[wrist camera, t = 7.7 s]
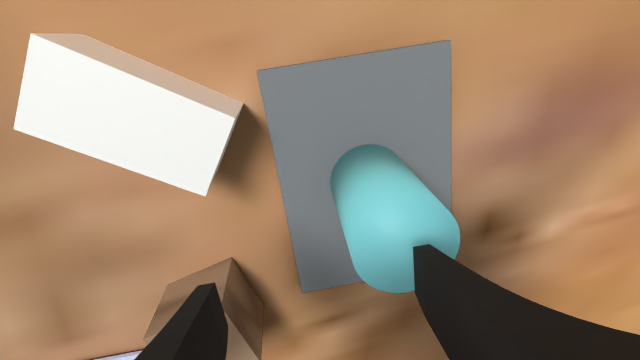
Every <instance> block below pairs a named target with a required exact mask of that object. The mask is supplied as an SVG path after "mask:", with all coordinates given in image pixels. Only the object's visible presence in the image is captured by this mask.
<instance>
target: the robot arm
mask: <svg viewBox="0 0 640 360" xmlns="http://www.w3.org/2000/svg"><path fill="white" fill-rule="evenodd" d="M413 261H414V286H415V294H416V296H417V299H418V301H419V304H420V306H421V308H422V311H423V313H424V315H425V317H426V319H427V321H428V323H429V325H430V326H431V328H432V330H433V332H434V333H435V335H436V337H437V339H438V340H439V342H440V344H441V346H442V347H443V349H444V351H445V352H446V354H447V356H448V358H449V359H450V360H640V335H637V334H633V333H629V332H625V331H620V330H616V329H612V328H609V327H605V326H602V325H598V324H595V323H592V322H588V321H585V320H582V319H579V318H576V317H573V316H570V315H567V314H564V313H561V312H558V311H556V310H553V309H550V308H548V307H545V306H542V305H540V304H537V303H535V302H533V301H530V300H528V299H526V298H524V297H521V296H519V295H517V294H515V293H512V292H510V291H508V290H506V289H504V288H502V287H500V286H498V285H497V284H495V283H493V282H491V281H489V280H487V279H485V278H484V277H482V276H480V275H478V274H477V273H475V272H473V271H471V270H470V269H468V268H467V267H465V266H463V265H462V264H460V263H458V262H457V261H455V260H454V259H452V258H451V257H449V256H447V255H446V254H444V253H443V252H441V251H440V250H438V249H437V248H435V247H433V246H432V245H430V244H426V245H421V246H415V247H413ZM227 342H228V323H227V320H226V317H225V313H224V310H223V307H222V304H221V300H220V297H219V294H218V290H217V287H216V284H215V282H214V283H208V284H203V285H198V286H197V287H196V288H195V289H194V291H193V292H192V293H191V294H190V295H189V297H188V298H187V299H186V300H185V302H184V303H183V304H182V305H181V307H180V308H179V309H178V310H177V312H176V313H175V314H174V315H173V317H172V318H171V319H170V320H169V321H168V323H167V324H166V325H165V326H164V327H163V329H162V330H161V331H160V332H159V333H158V334H157V335H156V336H155V337H154V338H153V340H152V341H151V342H150V343H149V344H148V345H147V346H146V347H145V348H144V350H142V351H136V352H131V353H126V354H121V355H115V356H110V357H105V358H100V359H95V360H226V354H227Z"/></svg>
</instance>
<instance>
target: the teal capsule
mask: <svg viewBox="0 0 640 360" xmlns="http://www.w3.org/2000/svg"><path fill="white" fill-rule="evenodd" d="M330 188H331V192H332V195H333V199H334V202H335V205H336V209H337V212H338V215H339V219H340V222H341V225H342V229H343V232H344V235H345V239H346V242H347V246H348V249H349V252H350V256H351V259H352V262H353V265H354V268H355V270H356V272H357V273H358V275H359V276H360V277H361V279H362V280H363V281H364V282H366V283H367V284H368V285H370V286H371V287H373V288H375V289H378V290H381V291H384V292H389V293H405V292H411V291H415V286H414V261H413V247H415V246H421V245H426V244H430V245H432V246H433V247H435V248H437V249H438V250H440V251H441V252H443V253H444V254H446V255H447V256H449V257H451V258H452V259H454V260H455V258H456V256H457V253H458V250H459V246H460V231H459V227H458V224H457V222H456V220H455V218H454V217H453V215H452V214H451V213H450V212H449V211H448V210H447V208H446V207H445V206H444V205H443V204H442V203H441V202H440V201H439V200H438V199H437V198H436V197H435V196H434V195H433V193H432V192H431V191H430V190H429V189H428V188H427V187H426V186H425V185H424V184H423V183H422V182H421V181H420V179H419V178H418V177H417V176H416V175H415V174H414V173H413V172H412V171H411V170H410V169H409V168H408V167H407V166H406V164H405V163H404V162H403V161H402V160H401V159H400V158H399V157H398V156H397V155H396V154H395V153H394V152H393V151H392V150H390V149H388V148H386V147H384V146H380V145H375V144H367V145H361V146H358V147H355V148H353V149H351V150H349V151H348V152H346V153H345V154H344V155H343V156H341V158H340V159H339V160H338V161H337V163H336V164H335V166H334V168H333V170H332V173H331V178H330Z"/></svg>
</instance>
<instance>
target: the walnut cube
mask: <svg viewBox="0 0 640 360" xmlns="http://www.w3.org/2000/svg"><path fill="white" fill-rule="evenodd" d="M214 282H215V284H216V287H217V290H218V294H219V297H220V300H221V304H222V307H223V310H224V313H225V317H226V320H227V323H228V342H227V354H226V360H261V353H262V336H263V319H264V306H263V305H262V303H261V301H260V300H259V298H258V297H257V295H256V294H255V292H254V291H253V289H252V287H251V286H250V284H249V283H248V281H247V280H246V278H245V277H244V275H243V274H242V272H241V270H240V269H239V267H238V266H237V264H236V263H235V261H234V260H233V258H232V257H231V258H228V259H226V260H224V261H221V262H219V263H217V264H214V265H212V266H210V267H207V268H205V269H203V270H201V271H198V272H196V273H194V274H191V275H189V276H187V277H184V278H182V279H180V280H177V281H175V282H173V283H171V284H168V286H167V288H166V290H165V292H164V294H163V297H162V299H161V301H160V303H159V305H158V308H157V310H156V312H155V314H154V316H153V319H152V321H151V323H150V325H149V327H148V330H147V332H146V334H145V336H144V338H143V340H144V341H145V342H146V343H147V344H149V343H150V342H151V341H152V340H153V338H154V337H155V336H156V335H157V334H158V333H159V332H160V331H161V330H162V329H163V327H164V326H165V325H166V324H167V323H168V321H169V320H170V319H171V318H172V317H173V315H174V314H175V313H176V312H177V310H178V309H179V308H180V307H181V305H182V304H183V303H184V302H185V300H186V299H187V298H188V297H189V295H190V294H191V293H192V292H193V291H194V289H195V288H196V287H197V286H198V285H203V284H208V283H214Z"/></svg>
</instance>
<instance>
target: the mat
mask: <svg viewBox="0 0 640 360" xmlns="http://www.w3.org/2000/svg"><path fill="white" fill-rule="evenodd" d="M257 75H258V80H259V85H260V90H261V95H262V100H263V105H264V110H265V114H266V119H267V124H268V129H269V134H270V139H271V144H272V149H273V153H274V158H275V163H276V168H277V173H278V178H279V183H280V187H281V192H282V197H283V202H284V207H285V212H286V217H287V222H288V226H289V231H290V236H291V241H292V246H293V251H294V256H295V261H296V265H297V270H298V275H299V280H300V285H301V290H302V293H307V292H312V291H317V290H322V289H328V288H333V287H338V286H344V285H349V284H354V283H360V282H364V281H363V280H362V279H361V277H360V276H359V275H358V273H357V272H356V270H355V268H354V265H353V262H352V259H351V256H350V252H349V249H348V246H347V242H346V239H345V235H344V232H343V229H342V225H341V222H340V219H339V215H338V212H337V209H336V205H335V202H334V199H333V195H332V192H331V188H330V178H331V173H332V170H333V168H334V166H335V164H336V163H337V161H338V160H339V159H340V158H341V156H343V155H344V154H345V153H346V152H348V151H349V150H351V149H353V148H355V147H358V146H361V145H367V144H375V145H380V146H384V147H386V148H388V149H390V150H392V151H393V152H394V153H395V154H396V155H397V156H398V157H399V158H400V159H401V160H402V161H403V162H404V163H405V164H406V166H407V167H408V168H409V169H410V170H411V171H412V172H413V173H414V174H415V175H416V176H417V177H418V178H419V179H420V181H421V182H422V183H423V184H424V185H425V186H426V187H427V188H428V189H429V190H430V191H431V192H432V193H433V195H434V196H435V197H436V198H437V199H438V200H439V201H440V202H441V203H442V204H443V205H444V206H445V207H446V208H447V210H448V211H449V212H450V213H451V40H445V41H438V42H432V43H426V44H420V45H414V46H407V47H401V48H395V49H389V50H382V51H376V52H370V53H364V54H357V55H351V56H345V57H339V58H332V59H326V60H320V61H314V62H307V63H301V64H295V65H289V66H282V67H276V68H270V69H264V70H257Z"/></svg>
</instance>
